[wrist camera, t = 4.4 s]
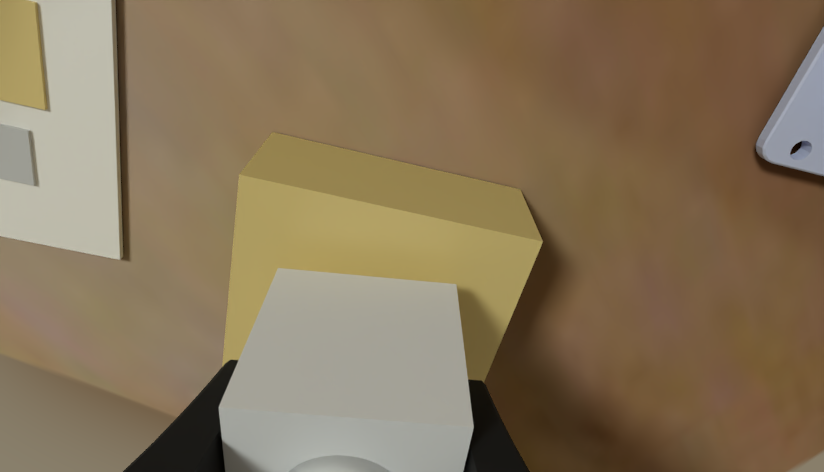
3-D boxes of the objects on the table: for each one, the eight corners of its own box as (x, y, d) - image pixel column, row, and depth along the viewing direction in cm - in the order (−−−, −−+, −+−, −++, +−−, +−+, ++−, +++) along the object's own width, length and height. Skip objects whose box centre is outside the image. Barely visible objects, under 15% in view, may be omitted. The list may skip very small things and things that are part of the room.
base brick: (520, 189, 15) (542, 241, 12) (452, 369, 18) (458, 441, 15) (272, 131, 14) (239, 174, 11) (249, 331, 17) (219, 400, 15)
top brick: (456, 284, 12) (478, 471, 8) (434, 409, 14) (442, 614, 9) (278, 267, 12) (200, 451, 7) (280, 397, 13) (220, 600, 9)
